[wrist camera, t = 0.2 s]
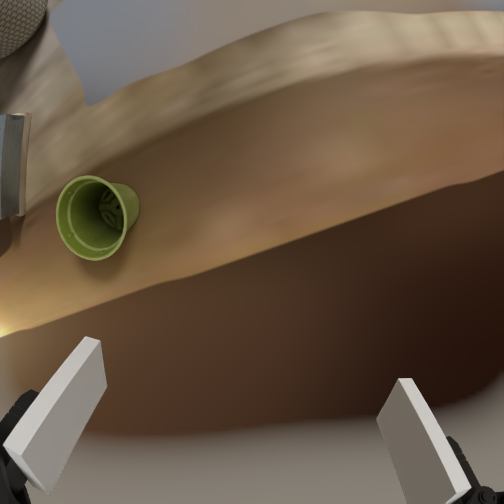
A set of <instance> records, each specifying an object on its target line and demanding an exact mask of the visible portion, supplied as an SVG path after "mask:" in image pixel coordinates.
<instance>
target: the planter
mask: <svg viewBox="0 0 504 504" xmlns="http://www.w3.org/2000/svg"><path fill="white" fill-rule="evenodd" d="M47 3H48V0H0V59H1V58H4V57H6V56H8V55H10V54H12V53H13V52H15V51H16V50H17V49H18V48H20V47H21V46H22V45H23V44H24V43H26V42H27V41H28V40H30V39H31V38H32V37H33V35H34V34H35V33H36V32H37V30H38V29H39V27H40V26H41V24H42V22H43V19H44V16H45V10H46V7H47Z"/></svg>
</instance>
